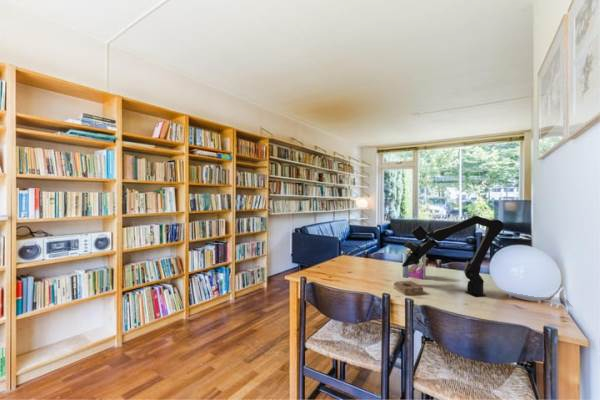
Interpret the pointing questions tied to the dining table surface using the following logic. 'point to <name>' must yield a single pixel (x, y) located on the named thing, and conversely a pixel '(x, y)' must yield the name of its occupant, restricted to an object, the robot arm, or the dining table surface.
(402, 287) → the hole block
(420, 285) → the mat
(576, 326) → the dining table surface
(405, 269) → the peg
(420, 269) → the candy bar box
